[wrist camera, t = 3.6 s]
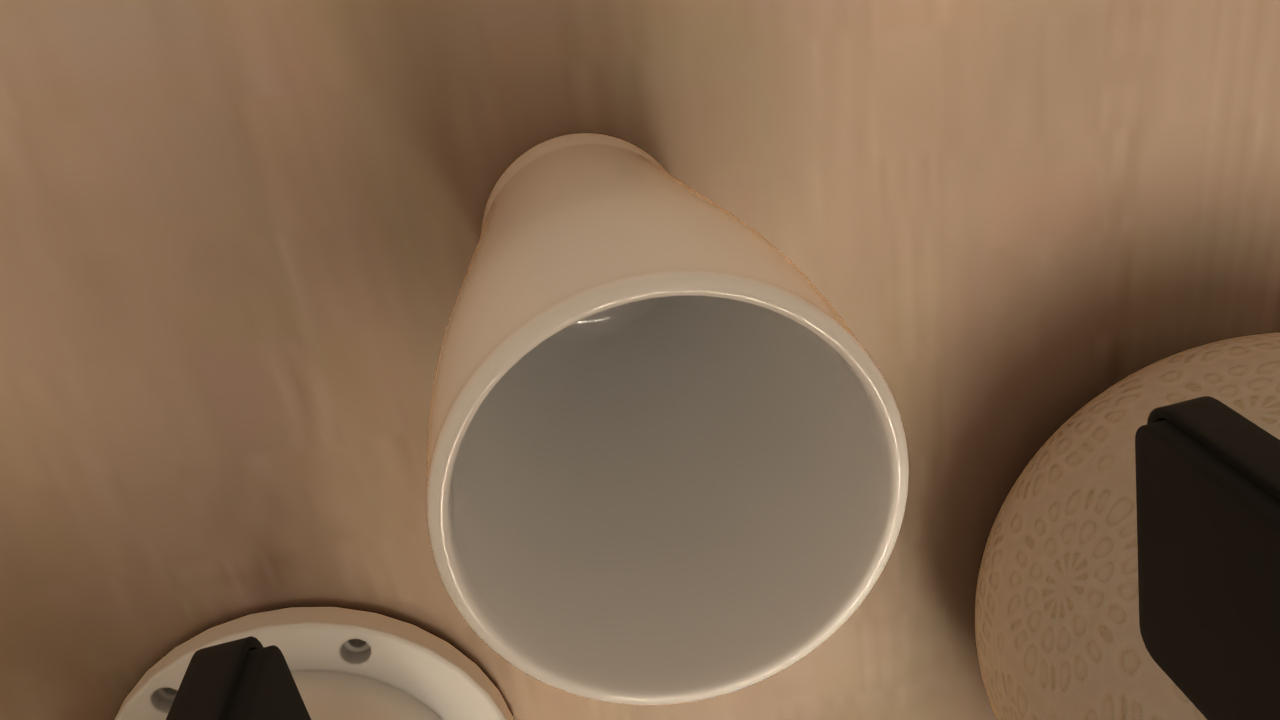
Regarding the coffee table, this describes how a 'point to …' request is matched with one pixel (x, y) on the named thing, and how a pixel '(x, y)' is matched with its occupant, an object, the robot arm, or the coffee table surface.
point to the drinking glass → (651, 438)
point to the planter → (1096, 548)
